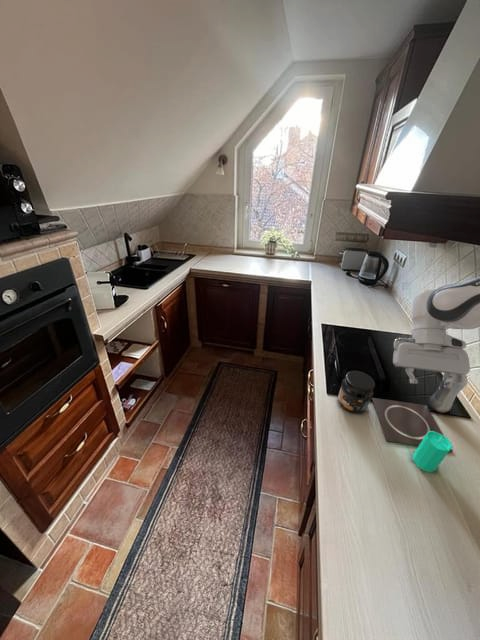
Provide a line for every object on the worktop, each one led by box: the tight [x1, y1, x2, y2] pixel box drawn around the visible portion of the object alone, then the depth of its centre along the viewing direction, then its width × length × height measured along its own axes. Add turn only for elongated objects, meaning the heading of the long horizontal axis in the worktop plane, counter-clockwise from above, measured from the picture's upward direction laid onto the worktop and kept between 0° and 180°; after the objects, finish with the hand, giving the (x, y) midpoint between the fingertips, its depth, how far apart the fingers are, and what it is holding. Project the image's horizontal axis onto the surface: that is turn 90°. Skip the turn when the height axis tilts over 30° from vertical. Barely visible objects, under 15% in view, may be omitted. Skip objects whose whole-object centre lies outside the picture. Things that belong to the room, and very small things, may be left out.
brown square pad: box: [371, 397, 453, 453], centre depth 87 cm, size 19×18×1 cm
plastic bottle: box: [428, 373, 469, 414], centre depth 88 cm, size 6×7×20 cm
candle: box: [412, 431, 453, 473], centre depth 72 cm, size 6×6×12 cm
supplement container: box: [337, 370, 376, 415], centre depth 91 cm, size 10×10×12 cm
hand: (430, 385), depth 76 cm, fingers open, 8 cm apart
